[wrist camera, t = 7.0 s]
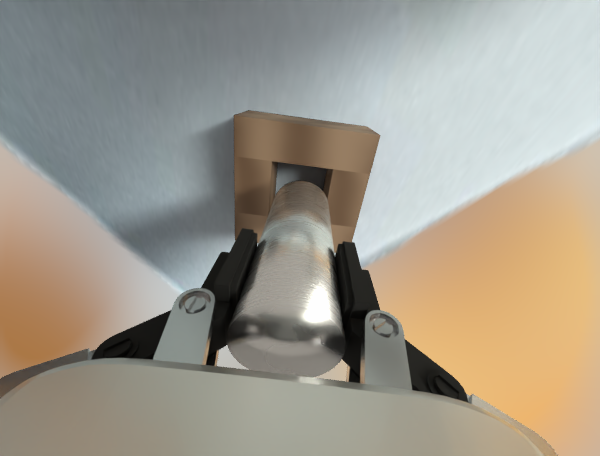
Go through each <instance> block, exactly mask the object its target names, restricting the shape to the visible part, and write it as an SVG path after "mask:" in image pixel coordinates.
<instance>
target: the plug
mask: <svg viewBox="0 0 600 456" xmlns="http://www.w3.org/2000/svg"><path fill="white" fill-rule="evenodd" d="M226 340H227V345H228V348H229V350H230V352H231V354H232V355H233V357H234V358H235V359H236V360H237V361H238V362H239V363H241V364H242V365H243V366H245V367H246V368H248V369H249V370H253V371H262V372H270V373H279V374H287V375H296V376H304V377H316V376H319V375H322V374H324V373H326V372H327V371H329V370H331V369H333V368H334V367H335V366H336V365H337V364H338V363H339V362H340V361H341V359H342V358H343V355H344V353H345V346H346V344H345V335H344V327H343V319H342V311H341V303H340V295H339V287H338V279H337V271H336V263H335V254H334V246H333V238H332V230H331V222H330V214H329V206H328V200H327V197H326V195H325V194H324V192H323V191H322V190H321V189H320V188H319V187H318V186H316V185H315V184H313V183H310V182H306V181H294V182H290V183H288V184H286V185H284V186H283V187H282V188H281V189H280V190H279V191H278V192H277V194H276V196H275V198H274V201H273V203H272V206H271V209H270V212H269V215H268V218H267V221H266V223H265V226H264V229H263V232H262V235H261V238H260V240H259V243H258V246H257V249H256V252H255V255H254V258H253V260H252V263H251V266H250V269H249V272H248V275H247V277H246V280H245V283H244V286H243V289H242V292H241V294H240V297H239V300H238V303H237V306H236V309H235V312H234V314H233V317H232V320H231V323H230V326H229V329H228V332H227V339H226Z"/></svg>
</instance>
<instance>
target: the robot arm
mask: <svg viewBox="0 0 600 456" xmlns="http://www.w3.org/2000/svg"><path fill="white" fill-rule="evenodd" d="M256 249H257V233H254V230H252V229H244V228H242V229H241V231H240V233H239V235H238V237H237V239H236V241H235V243H234V245H233V247H232V249H231V251H230V253H228V252H221V253H220V255H219V257H218V258H217V260H216V262H215V264H214V266H213V267H212V269H211V271H210V273H209V275H208V276H207V278H206V280H205V282H204V284H203V285H202V287H201V288H194V289H190V290H187V291H185V292H184V293H182V294H181V295H180V296H179V297H178V298H177V299H176V301H175V302H174V305H173V308H172V310H171V311H168V312H166V313H164V314H161V315H159V316H157V317H155V318H152V319H150V320H148V321H146V322H143V323H141V324H139V325H137V326H134V327H132V328H130V329H127V330H125V331H123V332H121V333H118V334H116V335H114V336H112V337H110V338H109V339H107V340H106V341H104V342H103V343H102V344H101V345H100V346H99V347H98V348H97V349H96V350H93V351H90V350H89V349H85V350H82V351H79V352H76V353H73V354H69V355H66V356H63V357H60V358H57V359H54V360H51V361H47V362H44V363H41V364H38V365H35V366H32V367H29V368H26V369H23V370H19V371H16V372H14V373H11V374H9V375H6V376H4V377H2V378H1V379H0V456H558V455H557V454H556V452H555V451H554V449H553V448H552V447H551V446H550V445H549V444H548V443H547V441H546V440H545V439H543V438H542V437H540V436H539V435H538V434H537V433H535V432H534V431H532V430H530V429H529V428H527V427H526V426H524V425H522V424H521V423H519V422H518V421H516V420H514V419H513V418H511V417H509V416H508V415H506V414H504V413H503V412H501V411H500V410H498V409H496V408H495V407H493V406H491V405H490V404H488V403H487V402H485V401H483V400H482V399H480V398H478V397H477V396H475V395H474V394H472V395H471V396H469V395H467V394H466V393H465V391H464V389H463V387H462V386H461V385H460V383H459V382H458V381H457V380H456V379H455V378H454V377H453V376H452V375H450V374H449V373H448V372H446V371H445V370H444V369H443V368H441V367H440V366H439V365H437V364H436V363H435V362H433V361H432V360H431V359H430V358H428V357H427V356H426V355H425V354H423V353H422V352H421V351H419V350H418V349H417V348H416V347H414V346H413V345H412V344H410V343H409V342H408V341H407V340H405V339H404V332H403V328H402V325H401V324H400V322H399V321H398V320H397V319H396V318H395V317H394V316H393V315H391V314H389V313H387V312H385V311H381V310H380V308H379V304H378V301H377V297H376V294H375V291H374V287H373V284H372V281H371V277H370V274H369V271H368V270H362V269H361V266H360V262H359V258H358V254H357V251H356V247H355V243H353V242H345V241H343V242H342V244H338V247H337V251H336V255H335V263H336V271H337V279H338V287H339V295H340V303H341V311H342V319H343V327H344V335H345V344H346V346H345V353H344V355H343V358H342V359H343V361H344V362H345V363H346V364H347V365H348V366H347V377H346V382H345V381H337V380H328V379H321V378H313V377H304V376H296V375H287V374H279V373H270V372H262V371H253V370H244V369H236V368H227V367H218V366H217V359H218V353H219V349H221V348H223V347H224V346H226V345H227V340H226V339H227V332H228V329H229V326H230V323H231V320H232V317H233V314H234V312H235V309H236V306H237V303H238V300H239V297H240V294H241V292H242V289H243V286H244V283H245V280H246V277H247V275H248V272H249V269H250V266H251V263H252V260H253V258H254V255H255V252H256Z"/></svg>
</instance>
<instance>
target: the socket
mask: <svg viewBox="0 0 600 456" xmlns="http://www.w3.org/2000/svg"><path fill="white" fill-rule="evenodd" d="M379 138H380V135H379V134H378V133H376V132H374V131H373V130H371V129H370V128H368V127H366V126H359V125H352V124H344V123H337V122H330V121H322V120H315V119H308V118H301V117H293V116H286V115H279V114H271V113H264V112H257V111H250V110H248V111H245V112H242V113H239V114H236V115H234V181H235V240H236V239H237V237H238V235H239V233H240V231H241V229H242V228H244V229H252V230H254V233H257V243H259V240H260V238H261V235H262V232H263V229H264V226H265V223H266V221H267V218H268V215H269V212H270V209H271V206H272V203H273V201H274V198H275V191H276V178H277V165H278V162H282V163H289V164H297V165H305V166H312V167H320V168H327V171H326V176H325V182H324V187H323V192H324V194H325V195H326V197H327V200H328V206H329V214H330V222H331V230H332V238H333V246H334V253H336V251H337V247H338V244H342V242H343V241H345V242H352V239H353V235H354V231H355V228H356V224H357V220H358V217H359V213H360V209H361V205H362V202H363V198H364V194H365V191H366V187H367V183H368V179H369V176H370V172H371V168H372V165H373V161H374V157H375V153H376V150H377V146H378V142H379Z"/></svg>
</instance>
